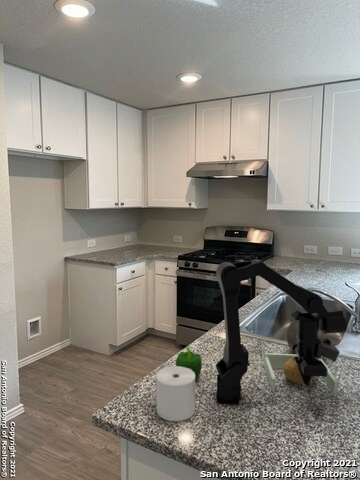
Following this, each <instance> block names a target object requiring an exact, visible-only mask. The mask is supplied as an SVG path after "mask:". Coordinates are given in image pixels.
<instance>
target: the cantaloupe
mask: <svg viewBox="0 0 360 480" xmlns="http://www.w3.org/2000/svg"><path fill="white" fill-rule="evenodd" d="M296 334H298V320H295V319H294V318H293V320H292V321H291V322H290V323H289V325H288V326H287V330H286V341H287V344H288V347H289V348H290V343H291V342H292V341H293V340H297V338H296ZM324 337H325V338H328V333H323V332H322V331H321V330H320V329H319V333H318V338H319V339H320V340H322V339H323V338H324ZM292 354H297V353H296V350H295V349H294V352H292Z"/></svg>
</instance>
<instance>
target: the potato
mask: <svg viewBox="0 0 360 480" xmlns="http://www.w3.org/2000/svg"><path fill="white" fill-rule="evenodd" d="M294 357H297V355H296V356H294ZM294 357H292V358H290V359H289V360H287V361H286V362H285V364H284V367H283V369H282V370H283V373H284V374H283V375H284V376H285V377H286V378H287V379H288V380H289V381H291V382H292V383H295V384H299V385H303V384H304V382H303V379H302V377H301V374H300V371H299V369H298V366H297V363H296V361H295V358H294ZM315 378H316V376H312V377H311V380H310V382H312V381H313V380H314V379H315Z"/></svg>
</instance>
